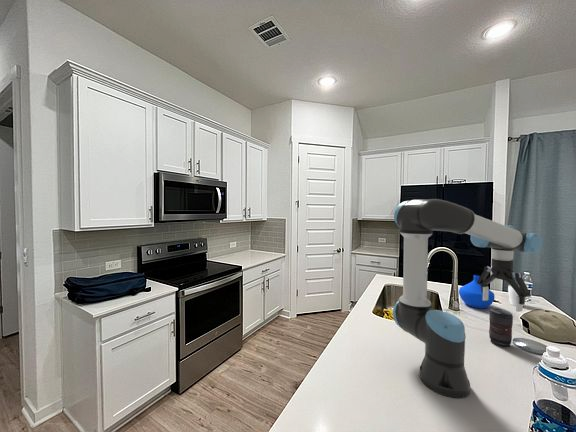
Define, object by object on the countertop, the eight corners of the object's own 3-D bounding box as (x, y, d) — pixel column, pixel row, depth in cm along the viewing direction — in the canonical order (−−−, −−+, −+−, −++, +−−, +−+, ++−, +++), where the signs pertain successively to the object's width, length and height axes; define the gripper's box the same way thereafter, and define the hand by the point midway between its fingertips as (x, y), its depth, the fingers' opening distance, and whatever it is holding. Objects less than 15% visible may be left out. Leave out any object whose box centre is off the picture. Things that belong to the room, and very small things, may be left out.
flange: (539, 357, 103) (539, 353, 103) (506, 342, 114) (506, 339, 114) (557, 352, 106) (557, 349, 106) (523, 338, 118) (523, 335, 118)
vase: (462, 298, 172) (463, 271, 172) (496, 306, 159) (497, 276, 158) (455, 305, 160) (455, 275, 159) (491, 313, 146) (492, 281, 146)
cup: (530, 307, 156) (531, 288, 156) (516, 307, 156) (516, 288, 156) (517, 302, 165) (518, 284, 165) (504, 302, 165) (504, 284, 165)
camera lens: (516, 349, 108) (517, 315, 108) (495, 347, 110) (496, 314, 109) (504, 340, 116) (505, 308, 116) (484, 338, 118) (485, 307, 117)
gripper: (542, 264, 101) (541, 315, 102) (479, 253, 125) (478, 295, 126) (530, 265, 99) (529, 317, 100) (468, 254, 123) (468, 297, 123)
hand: (501, 305), depth 113 cm, fingers open, 13 cm apart
